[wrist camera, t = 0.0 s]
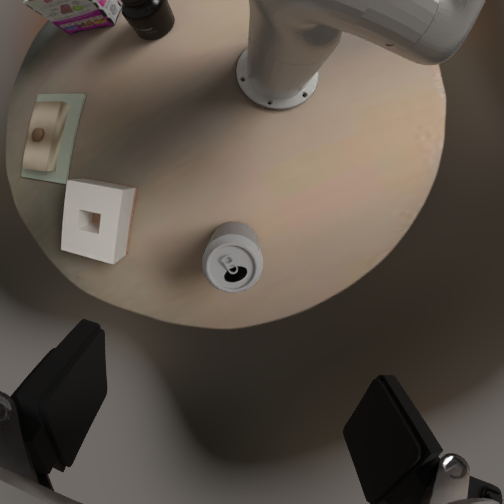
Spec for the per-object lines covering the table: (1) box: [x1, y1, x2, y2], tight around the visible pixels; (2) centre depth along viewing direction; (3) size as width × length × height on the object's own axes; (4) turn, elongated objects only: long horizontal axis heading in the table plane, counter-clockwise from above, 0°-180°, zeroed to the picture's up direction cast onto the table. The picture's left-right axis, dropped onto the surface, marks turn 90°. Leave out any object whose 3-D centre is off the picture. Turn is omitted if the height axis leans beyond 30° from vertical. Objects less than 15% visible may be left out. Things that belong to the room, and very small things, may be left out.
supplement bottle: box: [121, 0, 175, 40], centre depth 29 cm, size 7×7×12 cm
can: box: [202, 222, 263, 293], centre depth 39 cm, size 8×8×12 cm
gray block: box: [61, 178, 137, 264], centre depth 40 cm, size 11×10×6 cm
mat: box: [21, 93, 87, 184], centre depth 38 cm, size 16×12×1 cm
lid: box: [22, 101, 70, 171], centre depth 36 cm, size 12×6×4 cm, turn 166°
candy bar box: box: [23, 0, 122, 34], centre depth 25 cm, size 11×5×16 cm, turn 82°
